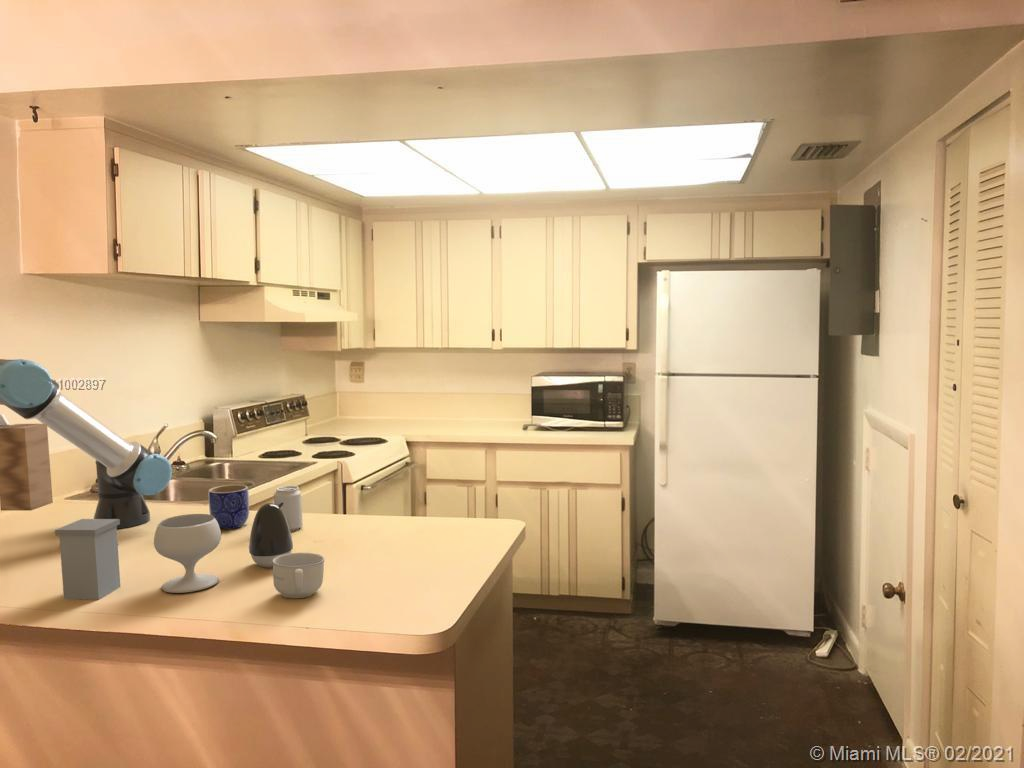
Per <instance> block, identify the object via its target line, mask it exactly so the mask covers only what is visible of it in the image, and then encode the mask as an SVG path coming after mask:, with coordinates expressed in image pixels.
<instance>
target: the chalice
mask: <svg viewBox="0 0 1024 768" xmlns="http://www.w3.org/2000/svg"><path fill="white" fill-rule="evenodd" d="M221 540H222V533H221V529H220V528H219V525H218V522H217V521H216V519H215V518H214V517H213V516H212V515H210V514H209V513H208V514H207V513H190V514H189V513H188V514H181V515H175V516H171V517H168V518H165V519H163V520H161V521H159V522H158V525H157V526H156V529H155V533H154V537H153V545H154V549H155V551H156V552H157V553H158V554H159V555H160V556H162V557H164V558H166V559H169V560H172V561H175V562H177V563H179V564H180V565H182V566H183V568H184V570H185V572H184V575H182V576H178V577H174V578H172V579H169V580H167V581H166V582H164V583H163V584H162V585H161V587H160V589H161V590H163V592H166V593H172V594H183V593H193V592H198V591H201V590H206V589H208V588H211V587H214V586H215V585H216V584H217V583H219V582H220V578H219V577H218V576H217V575H215V574H209V573H196V571H195V566H196V565H197V563H198V562H199V561H200V560H201V559H203V557H206V556H207V555H208V554H210V553H212V552H213V551H214V550H215V549H216V548H218V546H219V544H220V543H221Z"/></svg>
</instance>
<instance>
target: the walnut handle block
mask: <svg viewBox="0 0 1024 768" xmlns="http://www.w3.org/2000/svg"><path fill="white" fill-rule="evenodd" d="M50 459H51V458H50V447H49V433H48V427H47V424H43V423H15V424H10V425H0V511H12V512H13V511H15V512H16V511H20V512H21V511H24V512H25V511H33V510H34V511H35V510H36V509H39V508H43V507H45V506H48V505H51V504H53V487H52V474H51V473H52V472H51V461H50Z"/></svg>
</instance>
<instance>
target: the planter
mask: <svg viewBox="0 0 1024 768" xmlns="http://www.w3.org/2000/svg"><path fill="white" fill-rule="evenodd" d="M207 495H208V496H207V497H208V510H209V515H212V516H213V517H214V518H215V519H216V521H217V522H218V525H219V528H220V530H233V528H234V529H237V528H241V527H242V526H244V525H245V524H246V523H247V521H248V519H249V516H250V500H249V498H250V497H249V487H248V486H247V485H246V484H245V485H244V484H224V485H220V486H215V487H212V488H211V487H210V488H209V489H208V494H207Z"/></svg>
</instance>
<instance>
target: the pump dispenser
mask: <svg viewBox="0 0 1024 768" xmlns="http://www.w3.org/2000/svg"><path fill="white" fill-rule="evenodd" d="M283 504H284V503H283V502H280V503H278V504H277V505H276V504H274V502H268V503H264V504H262V505H261V506H260V507H259V508H258V509H257V512H256V514H255V517H254V519H253V521H252V522H253V523H252V526H251V529H250V535H249V543H248V551H249V554H250V556H251V559H252V560H253V562H254V563H255V565H258V566H260V567H263V568H273V562H272V561H273V559H274V558H276V557H278V556H281V555H285V554H290V553H292V550H293V549H294V545H293V537H292V534H291V532H292V531H290V529H289V525H288V523H287V520H286V517H285V515H284V513H283V512H282V510H281V507H282V506H283Z"/></svg>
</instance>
